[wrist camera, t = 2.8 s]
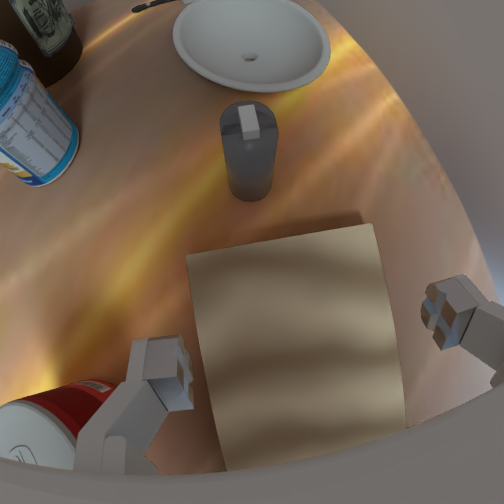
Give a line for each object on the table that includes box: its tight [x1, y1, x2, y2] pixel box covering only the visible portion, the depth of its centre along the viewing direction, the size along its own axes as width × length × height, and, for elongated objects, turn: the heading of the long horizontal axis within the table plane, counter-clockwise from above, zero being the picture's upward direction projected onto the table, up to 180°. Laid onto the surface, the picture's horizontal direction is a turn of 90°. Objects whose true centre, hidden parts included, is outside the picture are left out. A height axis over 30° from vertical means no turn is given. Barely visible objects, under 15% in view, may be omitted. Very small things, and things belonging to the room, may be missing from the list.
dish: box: [173, 0, 330, 93], centre depth 28 cm, size 18×14×5 cm
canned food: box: [0, 380, 117, 470], centre depth 18 cm, size 8×8×11 cm
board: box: [185, 223, 407, 471], centre depth 24 cm, size 20×15×2 cm
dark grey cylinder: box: [220, 101, 278, 202], centre depth 23 cm, size 4×4×9 cm
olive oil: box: [0, 0, 82, 87], centre depth 19 cm, size 11×11×25 cm
